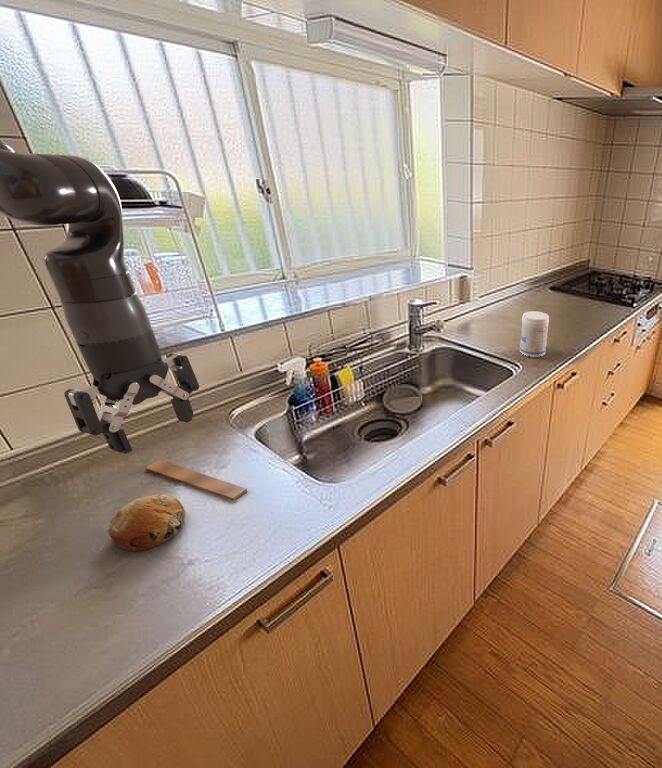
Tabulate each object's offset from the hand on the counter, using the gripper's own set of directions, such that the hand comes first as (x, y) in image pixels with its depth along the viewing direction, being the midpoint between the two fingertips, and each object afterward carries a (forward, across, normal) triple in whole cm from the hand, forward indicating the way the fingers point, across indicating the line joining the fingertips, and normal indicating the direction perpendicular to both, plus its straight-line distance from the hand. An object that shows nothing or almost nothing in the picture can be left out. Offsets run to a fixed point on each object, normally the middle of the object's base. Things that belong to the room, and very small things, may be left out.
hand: (156, 435), depth 61 cm
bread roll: (+22, +1, -10) cm, 24 cm away
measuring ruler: (+22, -11, -16) cm, 29 cm away
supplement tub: (+23, -106, +29) cm, 112 cm away
